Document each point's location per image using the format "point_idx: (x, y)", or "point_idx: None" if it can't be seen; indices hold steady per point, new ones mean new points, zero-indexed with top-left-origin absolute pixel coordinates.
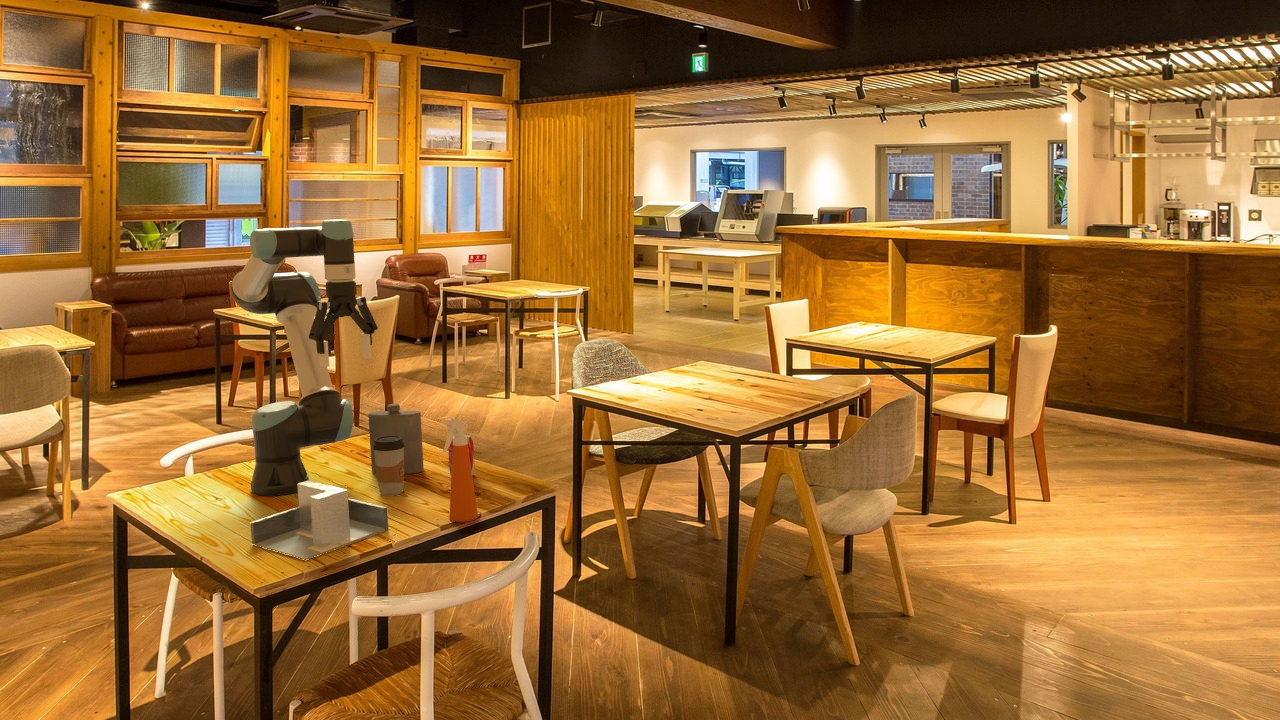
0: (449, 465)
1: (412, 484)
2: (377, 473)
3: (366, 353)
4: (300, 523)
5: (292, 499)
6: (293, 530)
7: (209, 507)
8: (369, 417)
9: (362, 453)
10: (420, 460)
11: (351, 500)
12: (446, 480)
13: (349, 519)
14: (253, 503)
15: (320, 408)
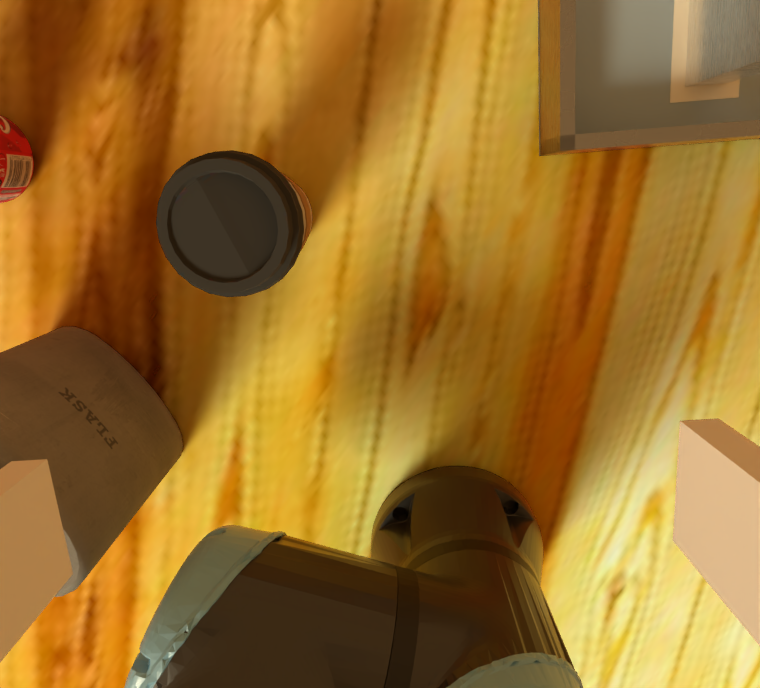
0: (9, 180)
1: None
2: (307, 233)
3: (17, 534)
4: (744, 77)
5: (504, 419)
6: None
7: None
8: (93, 559)
9: (79, 646)
10: (44, 336)
11: (574, 30)
12: (63, 171)
13: None
14: (591, 477)
15: (312, 663)
